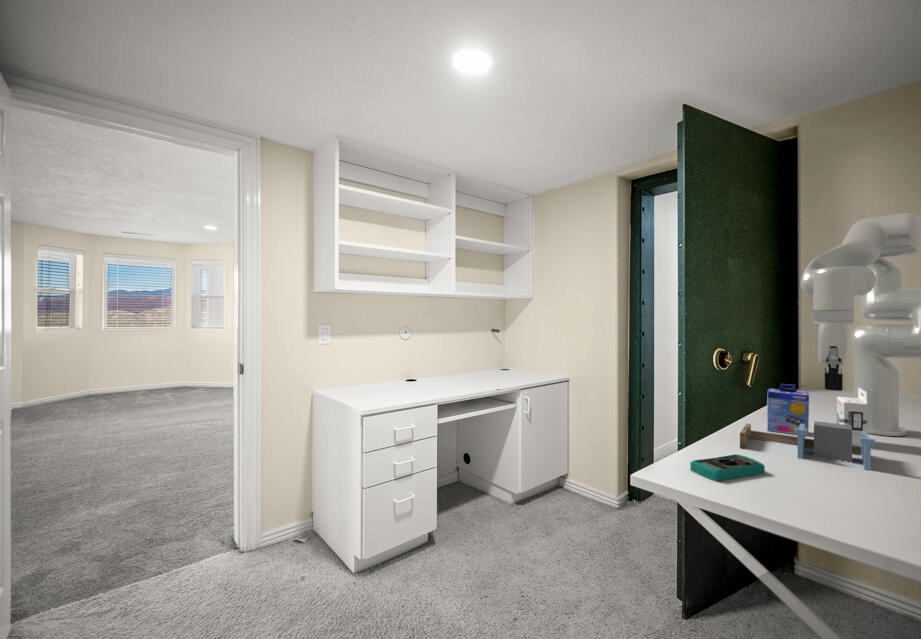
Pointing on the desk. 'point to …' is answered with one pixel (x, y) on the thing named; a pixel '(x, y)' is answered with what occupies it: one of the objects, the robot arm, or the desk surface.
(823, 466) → the desk surface
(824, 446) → the charcoal plug
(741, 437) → the brown l-shaped bracket
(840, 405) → the ink box
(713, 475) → the digital multimeter
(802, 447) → the pair of blue brackets
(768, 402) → the ink cartridge box
